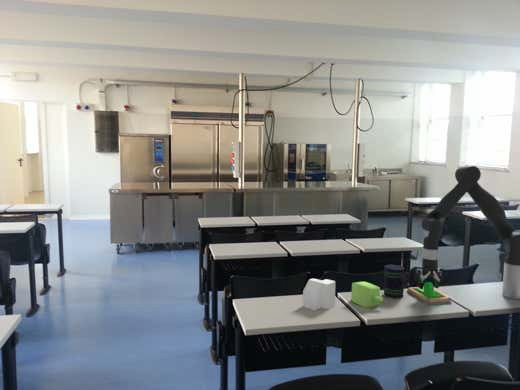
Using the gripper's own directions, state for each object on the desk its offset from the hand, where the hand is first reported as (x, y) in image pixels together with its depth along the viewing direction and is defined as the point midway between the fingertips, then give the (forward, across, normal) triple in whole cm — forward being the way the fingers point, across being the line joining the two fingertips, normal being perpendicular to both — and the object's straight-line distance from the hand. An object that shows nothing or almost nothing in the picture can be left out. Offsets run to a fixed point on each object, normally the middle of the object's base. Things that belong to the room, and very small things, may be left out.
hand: (428, 288), depth 213 cm
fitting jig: (+5, 0, 0) cm, 5 cm away
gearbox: (+5, +35, +3) cm, 35 cm away
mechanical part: (+4, 0, 0) cm, 4 cm away
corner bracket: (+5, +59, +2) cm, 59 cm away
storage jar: (+5, +16, -6) cm, 18 cm away
